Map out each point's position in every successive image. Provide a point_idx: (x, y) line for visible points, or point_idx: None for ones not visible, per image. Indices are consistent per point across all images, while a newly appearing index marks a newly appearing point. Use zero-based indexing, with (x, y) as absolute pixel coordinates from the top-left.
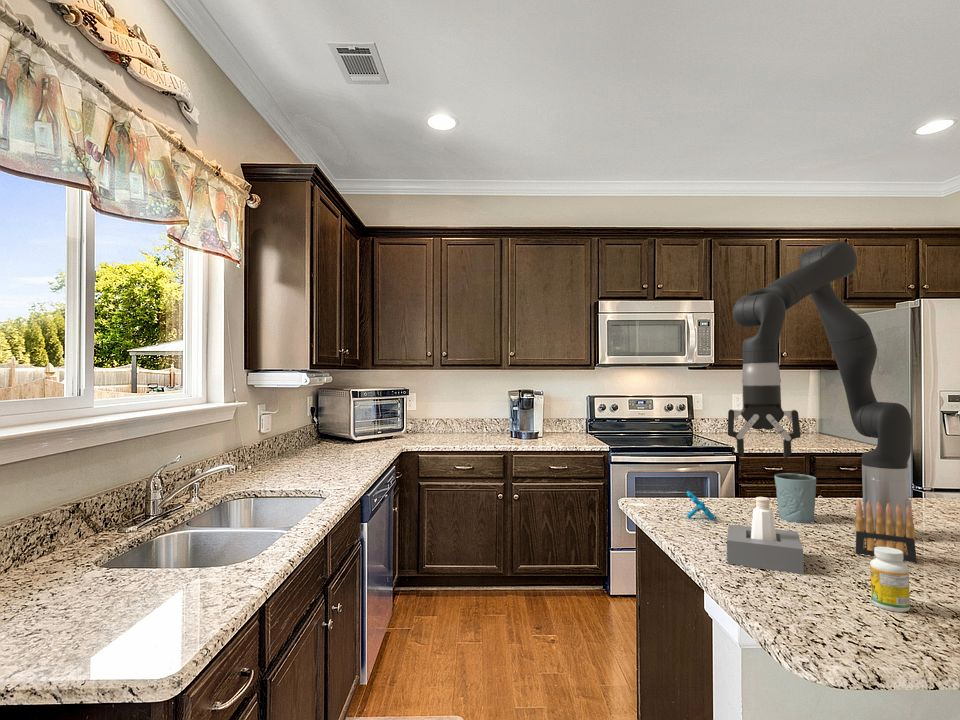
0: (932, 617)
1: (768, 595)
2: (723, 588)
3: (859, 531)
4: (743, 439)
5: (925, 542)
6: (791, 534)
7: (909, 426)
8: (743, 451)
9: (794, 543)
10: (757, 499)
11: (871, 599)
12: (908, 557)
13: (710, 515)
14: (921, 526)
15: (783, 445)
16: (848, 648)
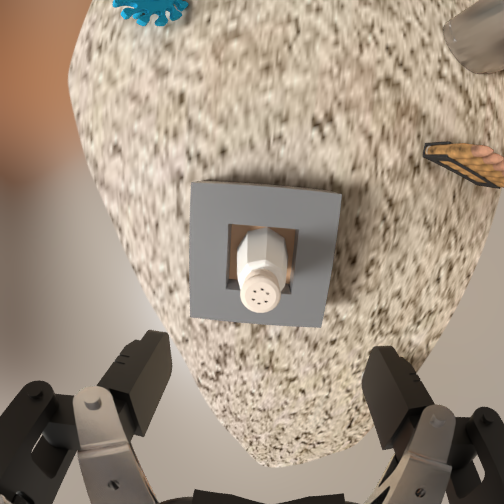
0: None
1: (251, 390)
2: (201, 384)
3: (450, 158)
4: (136, 417)
5: (498, 79)
6: (324, 227)
7: None
8: (162, 387)
9: (314, 297)
10: (245, 305)
11: (362, 375)
12: (475, 182)
13: (172, 16)
14: None
15: (390, 397)
16: (297, 449)
